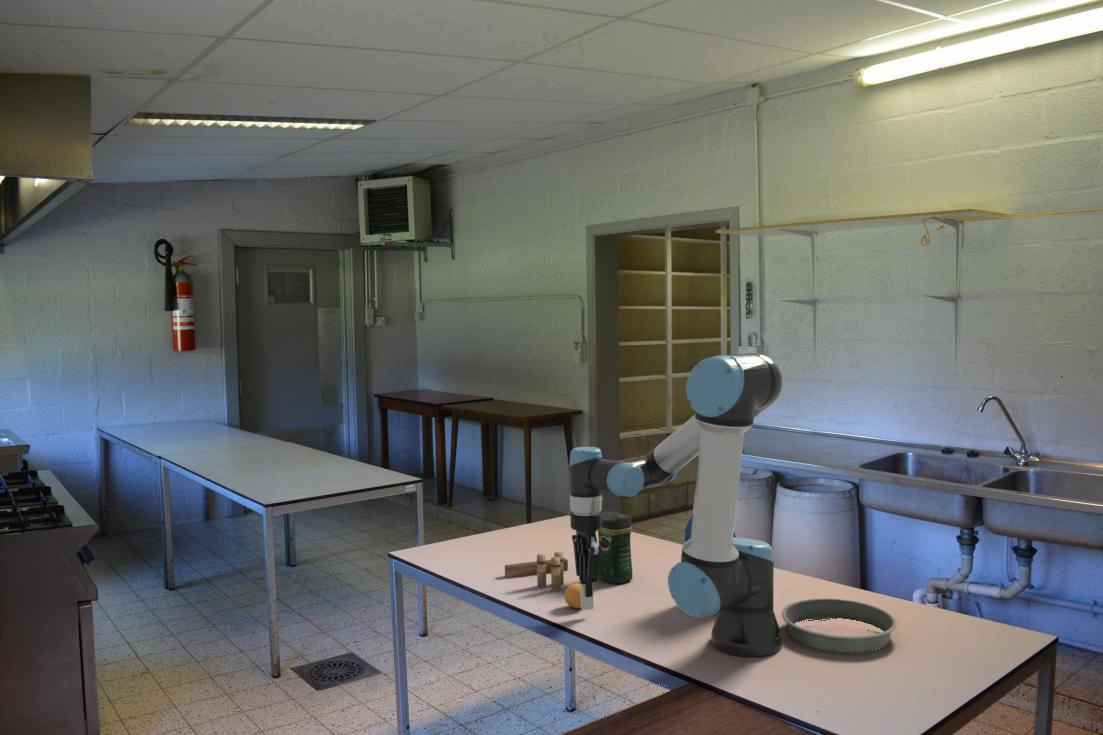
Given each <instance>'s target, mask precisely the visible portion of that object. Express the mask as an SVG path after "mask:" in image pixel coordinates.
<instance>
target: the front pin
mask: <svg viewBox="0 0 1103 735" xmlns="http://www.w3.org/2000/svg"><path fill="white" fill-rule="evenodd" d="M550 560H551V574H550V575H551V576H550V577H551V578H550V579H551V582H550V583H551V591H552V592H559V591H561V586H562V585H560V558H559V557H554V556H553V557H551V558H550Z"/></svg>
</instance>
